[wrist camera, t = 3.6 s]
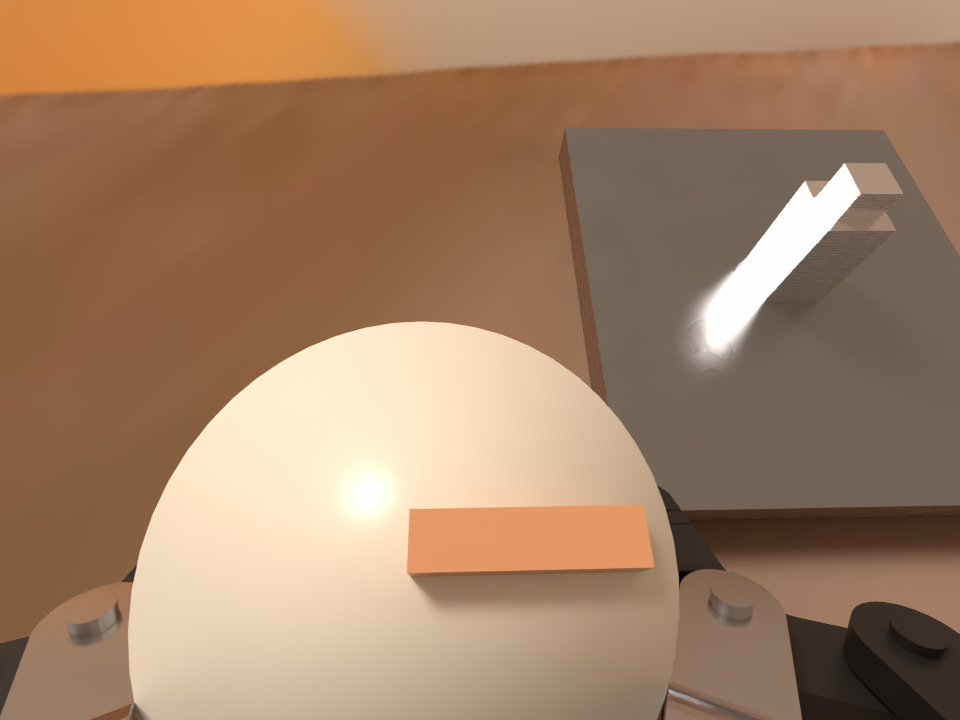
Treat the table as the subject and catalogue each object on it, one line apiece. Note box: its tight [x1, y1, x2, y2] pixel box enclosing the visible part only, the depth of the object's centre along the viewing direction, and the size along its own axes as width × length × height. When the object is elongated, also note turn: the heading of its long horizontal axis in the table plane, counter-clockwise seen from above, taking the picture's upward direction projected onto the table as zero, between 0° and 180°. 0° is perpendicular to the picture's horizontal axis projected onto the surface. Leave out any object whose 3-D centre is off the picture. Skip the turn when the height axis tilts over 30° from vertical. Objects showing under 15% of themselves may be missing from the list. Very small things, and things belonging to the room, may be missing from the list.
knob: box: [128, 322, 679, 720], centre depth 10 cm, size 6×6×10 cm
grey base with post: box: [559, 128, 960, 520], centre depth 17 cm, size 14×16×6 cm
